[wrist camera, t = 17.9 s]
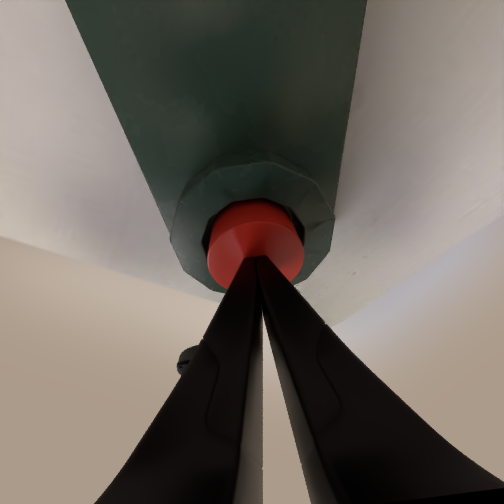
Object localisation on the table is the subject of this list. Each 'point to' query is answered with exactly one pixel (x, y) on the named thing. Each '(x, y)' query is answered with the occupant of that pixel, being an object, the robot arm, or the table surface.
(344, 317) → the table surface
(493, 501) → the robot arm
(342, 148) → the block
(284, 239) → the button
